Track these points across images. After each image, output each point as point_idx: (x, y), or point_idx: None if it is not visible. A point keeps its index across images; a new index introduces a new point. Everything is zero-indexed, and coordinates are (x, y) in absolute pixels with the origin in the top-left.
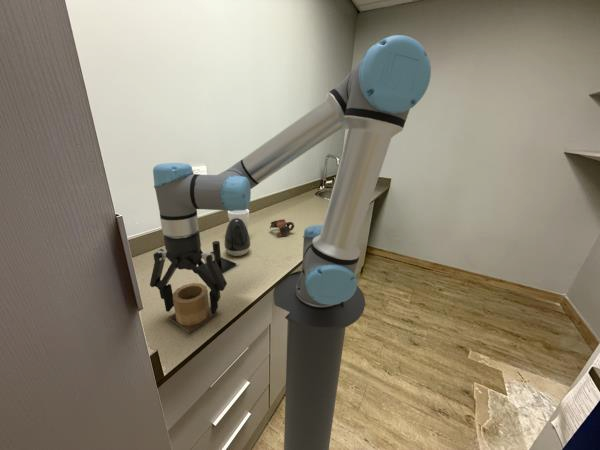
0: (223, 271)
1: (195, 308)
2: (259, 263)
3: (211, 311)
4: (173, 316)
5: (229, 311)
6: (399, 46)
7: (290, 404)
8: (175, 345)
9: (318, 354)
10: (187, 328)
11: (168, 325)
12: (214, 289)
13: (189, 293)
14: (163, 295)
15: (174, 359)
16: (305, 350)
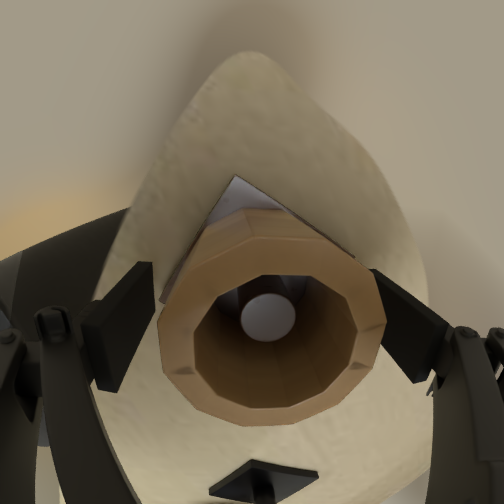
0: (235, 474)
1: (208, 243)
2: (145, 488)
3: (146, 267)
4: None
5: None
6: None
7: None
8: (269, 117)
9: (14, 256)
10: (249, 189)
11: (342, 224)
12: (51, 343)
13: (298, 366)
14: (426, 307)
15: (244, 59)
16: (30, 262)
